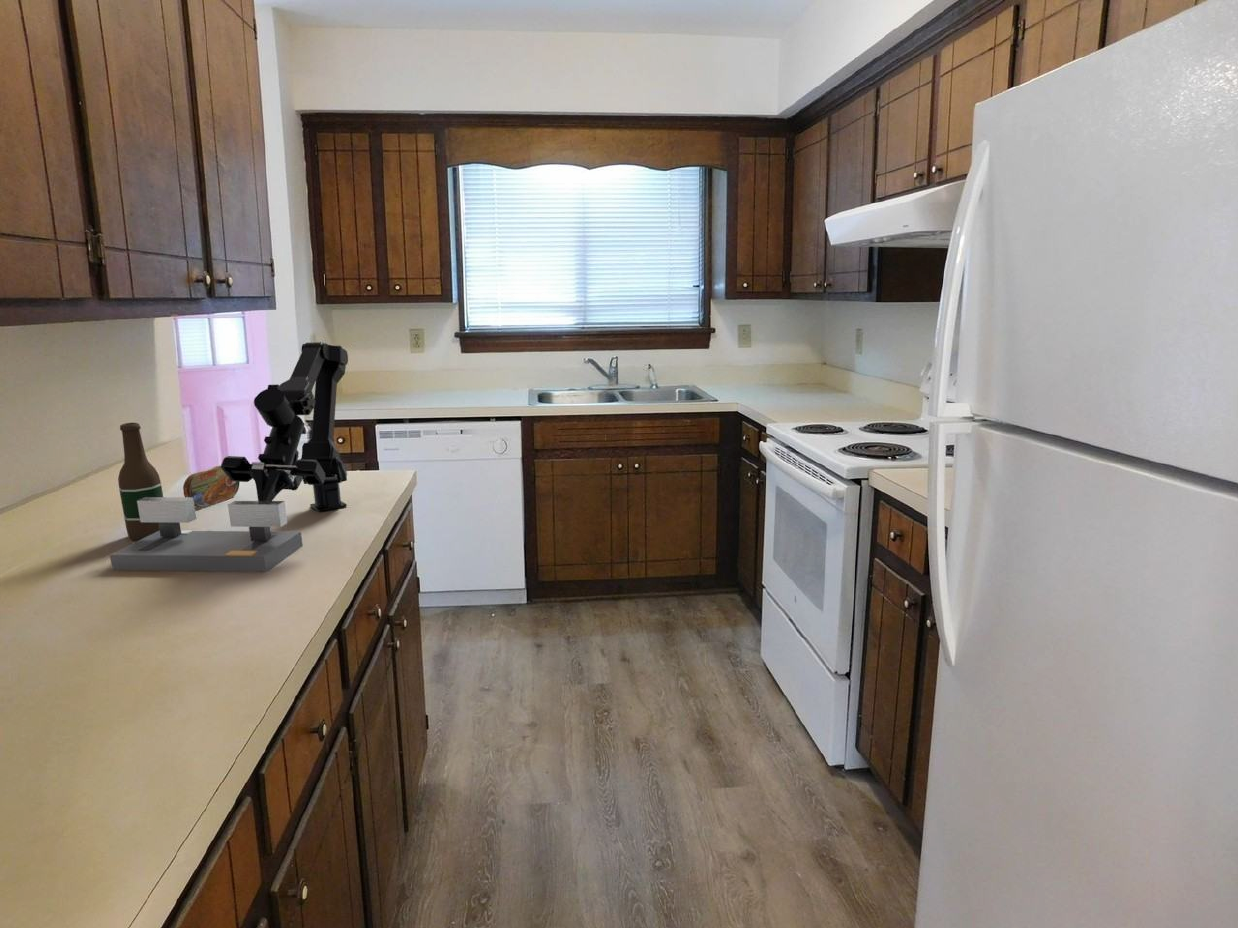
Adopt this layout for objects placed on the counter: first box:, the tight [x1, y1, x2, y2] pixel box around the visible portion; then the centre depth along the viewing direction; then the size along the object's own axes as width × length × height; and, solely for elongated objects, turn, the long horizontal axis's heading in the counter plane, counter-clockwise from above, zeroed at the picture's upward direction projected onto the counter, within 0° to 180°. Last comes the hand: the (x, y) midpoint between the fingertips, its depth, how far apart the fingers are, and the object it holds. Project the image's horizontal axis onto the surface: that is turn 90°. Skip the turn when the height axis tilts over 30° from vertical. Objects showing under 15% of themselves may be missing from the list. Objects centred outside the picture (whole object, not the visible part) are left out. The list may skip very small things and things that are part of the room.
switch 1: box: [137, 496, 197, 537], centre depth 155 cm, size 2×10×7 cm, turn 85°
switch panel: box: [109, 529, 304, 573], centre depth 152 cm, size 14×30×3 cm, turn 85°
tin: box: [182, 465, 241, 509], centre depth 190 cm, size 15×3×8 cm, turn 162°
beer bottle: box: [117, 422, 164, 542], centre depth 164 cm, size 8×8×24 cm
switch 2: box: [227, 500, 288, 541], centre depth 151 cm, size 2×10×7 cm, turn 85°
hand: (261, 508), depth 152 cm, fingers closed
